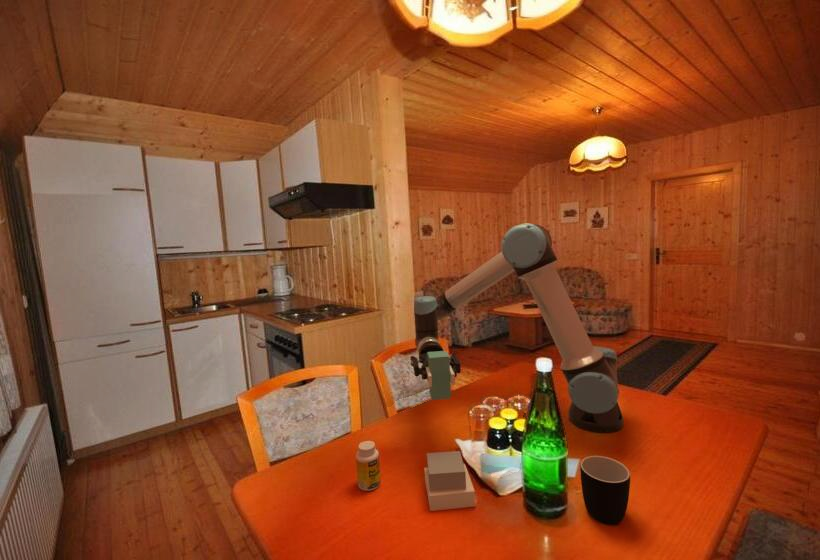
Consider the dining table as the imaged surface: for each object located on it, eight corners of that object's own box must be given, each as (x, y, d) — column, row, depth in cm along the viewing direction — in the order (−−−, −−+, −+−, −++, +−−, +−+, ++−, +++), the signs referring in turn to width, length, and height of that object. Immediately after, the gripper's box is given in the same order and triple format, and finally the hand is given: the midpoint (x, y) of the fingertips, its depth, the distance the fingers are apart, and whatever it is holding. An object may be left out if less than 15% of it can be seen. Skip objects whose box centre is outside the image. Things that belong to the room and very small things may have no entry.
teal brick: (447, 390, 99) (446, 350, 98) (451, 398, 94) (449, 356, 93) (429, 392, 99) (427, 352, 98) (431, 399, 94) (429, 357, 93)
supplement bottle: (370, 495, 86) (367, 454, 85) (353, 487, 89) (350, 447, 88) (385, 482, 91) (382, 442, 90) (368, 474, 94) (365, 436, 93)
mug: (639, 529, 72) (640, 480, 71) (594, 533, 72) (594, 484, 71) (605, 488, 84) (605, 446, 83) (566, 491, 84) (566, 449, 83)
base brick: (465, 479, 91) (464, 463, 90) (475, 508, 81) (474, 491, 80) (425, 483, 90) (424, 467, 90) (430, 513, 80) (429, 496, 80)
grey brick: (460, 466, 89) (460, 451, 89) (466, 488, 81) (465, 471, 81) (427, 468, 89) (426, 453, 89) (429, 491, 81) (428, 474, 81)
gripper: (460, 361, 115) (478, 392, 91) (402, 366, 114) (406, 398, 90) (459, 338, 114) (477, 362, 91) (400, 342, 113) (404, 368, 90)
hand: (441, 380), depth 91 cm, fingers closed on teal brick, 5 cm apart
